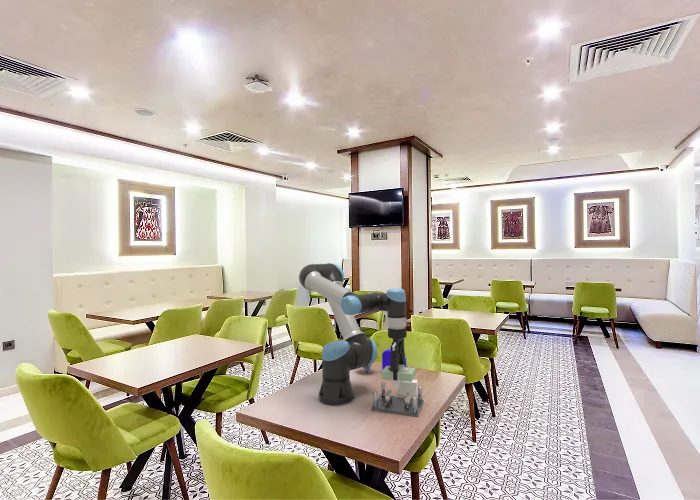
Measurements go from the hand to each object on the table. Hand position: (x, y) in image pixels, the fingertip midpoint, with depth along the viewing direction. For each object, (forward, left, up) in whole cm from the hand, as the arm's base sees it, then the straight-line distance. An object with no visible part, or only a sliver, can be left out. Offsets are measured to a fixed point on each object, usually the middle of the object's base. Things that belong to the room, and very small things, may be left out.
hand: (398, 384), depth 149 cm
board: (0, 0, +3) cm, 3 cm away
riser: (+1, +14, -9) cm, 17 cm away
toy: (-25, +36, -9) cm, 45 cm away
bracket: (-11, +46, -9) cm, 48 cm away
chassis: (0, 0, -9) cm, 9 cm away
